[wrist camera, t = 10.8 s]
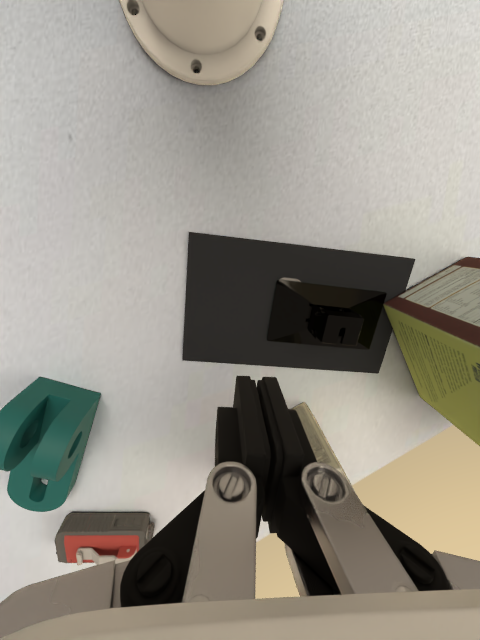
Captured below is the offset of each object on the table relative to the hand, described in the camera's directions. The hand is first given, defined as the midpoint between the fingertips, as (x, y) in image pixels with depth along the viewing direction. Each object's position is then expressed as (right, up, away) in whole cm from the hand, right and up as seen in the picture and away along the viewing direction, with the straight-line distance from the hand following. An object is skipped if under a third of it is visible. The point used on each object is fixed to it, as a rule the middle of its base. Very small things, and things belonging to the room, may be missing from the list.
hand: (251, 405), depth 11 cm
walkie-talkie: (-16, -28, +28) cm, 42 cm away
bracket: (-23, -12, +22) cm, 34 cm away
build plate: (+9, +4, +18) cm, 21 cm away
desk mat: (+6, +5, +18) cm, 20 cm away
